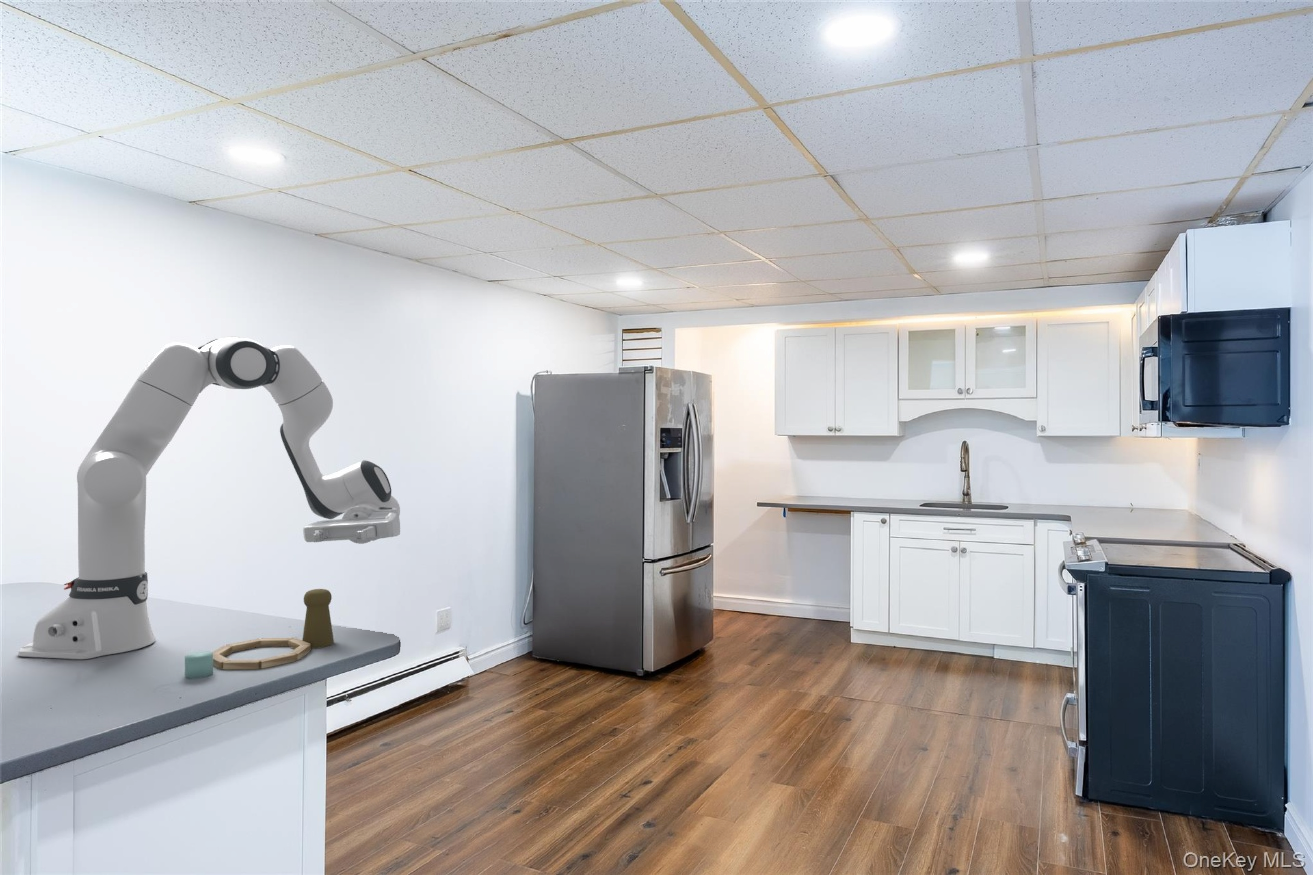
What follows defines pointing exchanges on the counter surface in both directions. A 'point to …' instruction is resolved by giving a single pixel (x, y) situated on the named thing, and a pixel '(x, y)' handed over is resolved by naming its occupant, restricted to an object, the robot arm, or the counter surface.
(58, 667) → the counter surface
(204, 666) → the loose bead
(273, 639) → the wooden segmented ring
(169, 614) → the counter surface
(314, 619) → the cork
